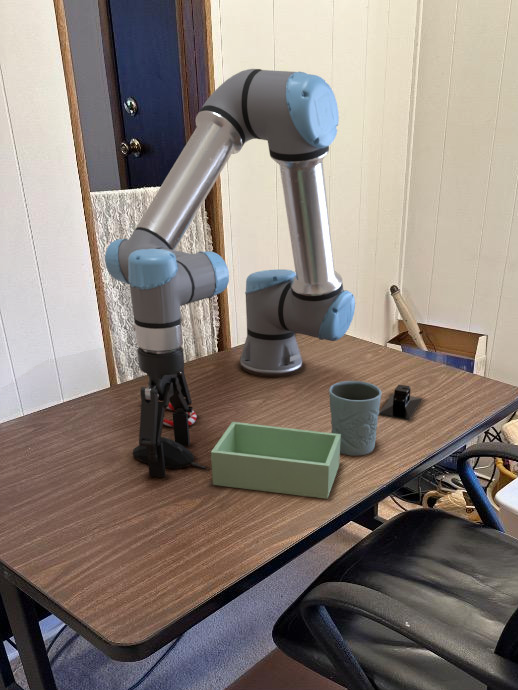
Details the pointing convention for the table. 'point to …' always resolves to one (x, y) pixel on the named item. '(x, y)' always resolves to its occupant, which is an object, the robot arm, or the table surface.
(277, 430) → the open rectangular box
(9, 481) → the table surface
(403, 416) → the black bracket mount
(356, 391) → the blue-grey embossed cup
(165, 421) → the candy cane
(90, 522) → the table surface
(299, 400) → the table surface
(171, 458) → the gaming mouse
